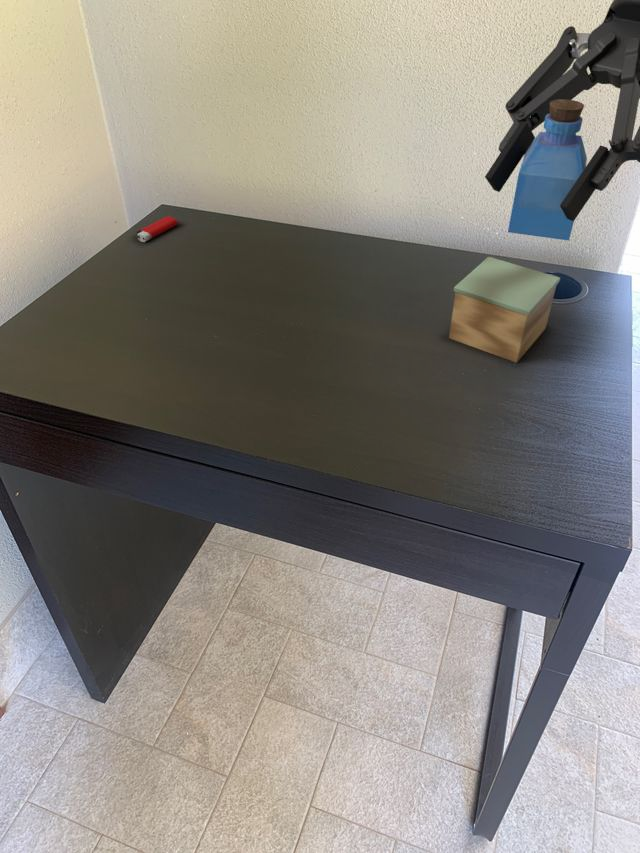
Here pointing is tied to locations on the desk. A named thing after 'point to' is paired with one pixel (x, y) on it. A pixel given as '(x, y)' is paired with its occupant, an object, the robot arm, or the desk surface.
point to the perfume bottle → (549, 174)
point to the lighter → (156, 228)
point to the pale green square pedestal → (502, 308)
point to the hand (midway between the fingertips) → (528, 198)
